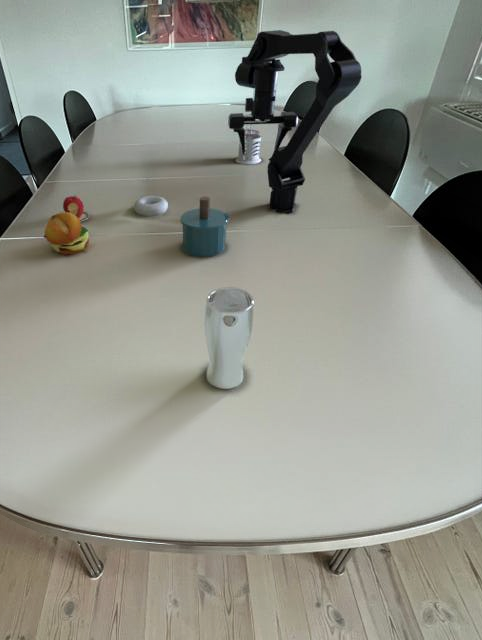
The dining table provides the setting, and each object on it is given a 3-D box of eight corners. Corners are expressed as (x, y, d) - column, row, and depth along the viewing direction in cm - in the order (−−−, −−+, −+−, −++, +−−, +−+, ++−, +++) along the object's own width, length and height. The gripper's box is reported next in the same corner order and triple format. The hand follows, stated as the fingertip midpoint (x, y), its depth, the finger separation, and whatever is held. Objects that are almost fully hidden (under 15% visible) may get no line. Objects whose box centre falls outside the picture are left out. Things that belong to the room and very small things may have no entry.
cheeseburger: (99, 239, 106) (89, 206, 98) (81, 267, 101) (69, 234, 93) (65, 234, 109) (52, 201, 101) (46, 261, 103) (31, 229, 95)
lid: (233, 216, 100) (235, 192, 96) (220, 235, 92) (221, 210, 88) (190, 210, 103) (189, 187, 99) (173, 228, 95) (172, 204, 91)
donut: (130, 218, 117) (164, 219, 115) (128, 206, 115) (163, 207, 113) (139, 205, 124) (171, 205, 122) (138, 193, 122) (170, 194, 120)
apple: (95, 217, 118) (91, 194, 113) (73, 226, 113) (68, 203, 109) (79, 210, 122) (74, 188, 118) (56, 219, 118) (51, 196, 113)
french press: (265, 158, 155) (273, 80, 139) (252, 167, 148) (260, 85, 132) (242, 155, 159) (247, 78, 143) (228, 163, 152) (232, 83, 136)
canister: (229, 241, 104) (231, 214, 99) (217, 259, 96) (218, 231, 92) (191, 235, 107) (191, 209, 102) (176, 253, 100) (176, 226, 95)
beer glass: (200, 363, 69) (202, 287, 59) (241, 360, 70) (249, 284, 60) (206, 393, 64) (209, 315, 54) (250, 389, 64) (260, 311, 54)
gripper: (294, 84, 115) (286, 145, 125) (228, 87, 115) (225, 147, 126) (302, 91, 106) (293, 155, 117) (231, 93, 107) (228, 157, 117)
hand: (259, 153), depth 119 cm, fingers open, 9 cm apart
